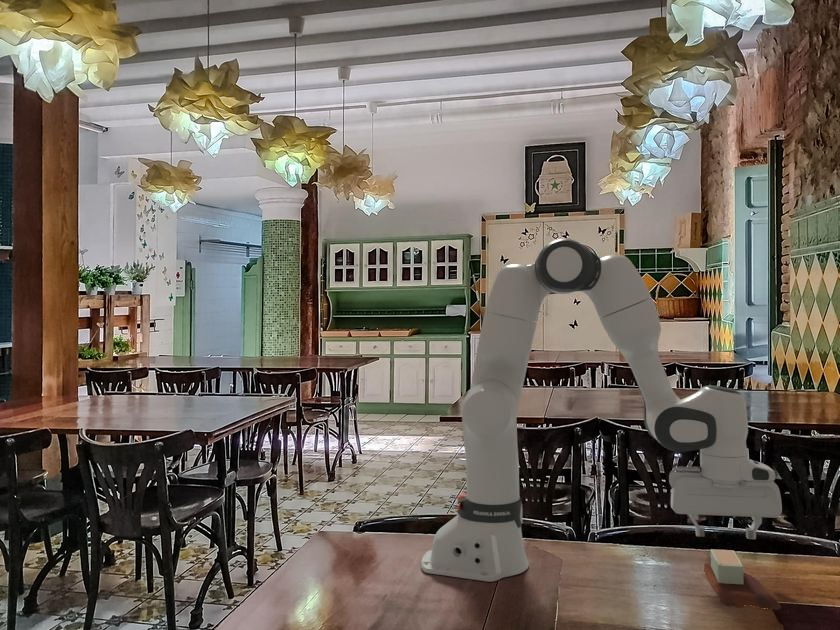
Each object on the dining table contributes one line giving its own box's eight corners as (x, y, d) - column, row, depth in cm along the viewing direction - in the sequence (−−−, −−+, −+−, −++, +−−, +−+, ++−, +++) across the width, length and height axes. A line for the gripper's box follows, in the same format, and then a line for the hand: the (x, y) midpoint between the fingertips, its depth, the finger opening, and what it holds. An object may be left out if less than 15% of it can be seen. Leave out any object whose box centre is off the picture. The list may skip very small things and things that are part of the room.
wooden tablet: (785, 615, 121) (785, 605, 121) (725, 612, 123) (725, 602, 123) (740, 560, 147) (740, 552, 147) (691, 558, 149) (691, 550, 149)
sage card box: (710, 565, 140) (718, 583, 132) (710, 548, 140) (718, 565, 132) (734, 567, 139) (743, 584, 130) (733, 550, 139) (743, 566, 130)
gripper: (671, 469, 136) (672, 539, 136) (784, 472, 132) (785, 544, 132) (666, 462, 142) (668, 529, 142) (774, 465, 138) (775, 534, 138)
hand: (725, 537), depth 137 cm, fingers open, 8 cm apart
